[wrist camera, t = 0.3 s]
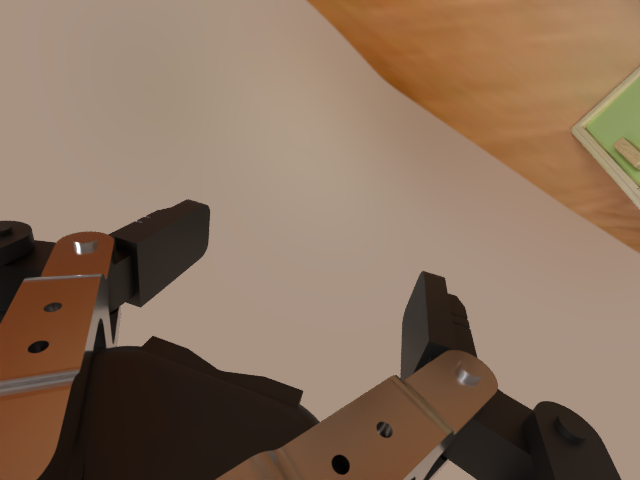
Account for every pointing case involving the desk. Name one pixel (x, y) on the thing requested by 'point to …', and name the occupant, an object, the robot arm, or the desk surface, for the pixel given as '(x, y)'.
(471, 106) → the desk surface
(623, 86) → the toy refrigerator
